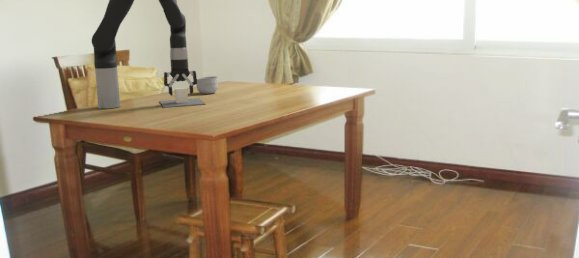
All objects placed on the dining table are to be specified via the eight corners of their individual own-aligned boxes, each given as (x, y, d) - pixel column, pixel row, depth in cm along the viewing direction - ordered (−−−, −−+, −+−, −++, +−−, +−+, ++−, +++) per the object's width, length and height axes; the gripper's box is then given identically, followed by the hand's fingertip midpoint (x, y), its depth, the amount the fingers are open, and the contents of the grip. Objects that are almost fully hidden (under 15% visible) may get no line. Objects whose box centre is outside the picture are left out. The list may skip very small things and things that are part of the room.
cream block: (176, 103, 264) (175, 89, 263) (175, 101, 269) (174, 88, 267) (188, 102, 265) (187, 89, 264) (186, 101, 270) (185, 87, 269)
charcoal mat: (163, 107, 256) (163, 106, 256) (159, 101, 273) (159, 101, 273) (205, 104, 261) (205, 103, 261) (199, 99, 278) (199, 98, 278)
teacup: (207, 95, 290) (206, 78, 288) (191, 94, 296) (190, 77, 294) (227, 91, 300) (226, 75, 299) (211, 90, 307) (210, 74, 305)
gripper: (163, 59, 258) (165, 97, 261) (196, 58, 262) (198, 94, 265) (161, 58, 265) (164, 94, 268) (194, 56, 269) (196, 92, 272)
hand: (181, 94), depth 266 cm, fingers open, 8 cm apart
